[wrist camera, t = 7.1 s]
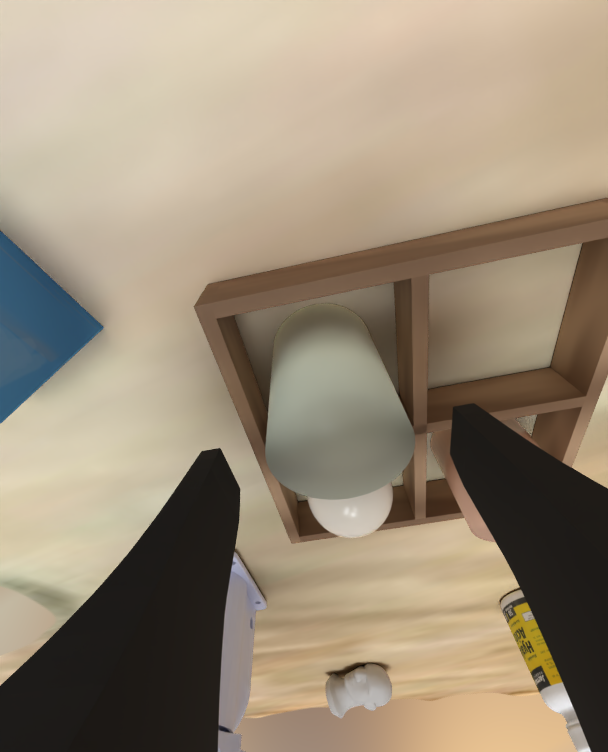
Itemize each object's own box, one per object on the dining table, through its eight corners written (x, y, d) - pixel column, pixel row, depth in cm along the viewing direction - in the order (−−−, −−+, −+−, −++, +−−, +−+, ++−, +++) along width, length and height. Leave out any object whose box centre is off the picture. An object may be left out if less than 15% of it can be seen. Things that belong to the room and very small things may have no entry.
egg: (383, 476, 21) (405, 548, 17) (312, 488, 21) (318, 561, 17) (378, 423, 18) (402, 494, 14) (297, 437, 19) (300, 510, 15)
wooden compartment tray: (531, 470, 21) (557, 503, 19) (291, 508, 22) (291, 543, 20) (611, 197, 12) (673, 205, 10) (207, 284, 14) (193, 306, 12)
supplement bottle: (495, 592, 31) (569, 749, 23) (556, 578, 30) (658, 738, 22) (500, 613, 34) (568, 760, 25) (556, 601, 33) (646, 750, 24)
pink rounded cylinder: (508, 456, 20) (564, 534, 16) (429, 469, 21) (465, 548, 16) (521, 396, 18) (593, 470, 13) (430, 412, 18) (473, 489, 14)
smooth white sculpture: (382, 646, 41) (389, 674, 43) (320, 657, 42) (329, 684, 43) (391, 687, 37) (398, 717, 38) (322, 698, 38) (332, 727, 39)
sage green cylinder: (372, 381, 17) (412, 489, 11) (283, 395, 17) (281, 507, 12) (368, 295, 14) (418, 382, 9) (263, 312, 14) (248, 407, 9)
